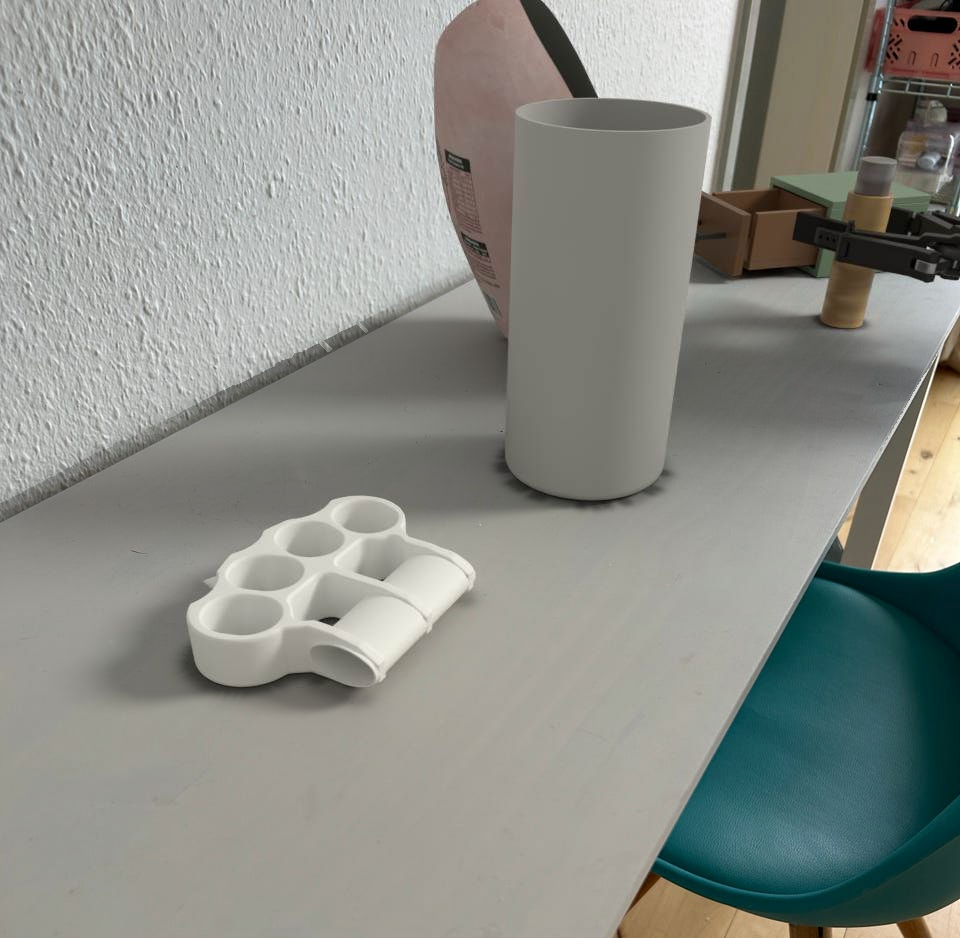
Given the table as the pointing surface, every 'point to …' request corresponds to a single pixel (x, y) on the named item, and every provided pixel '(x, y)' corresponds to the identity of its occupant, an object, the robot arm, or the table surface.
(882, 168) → the salt mill
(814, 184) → the cabinet
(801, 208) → the drawer
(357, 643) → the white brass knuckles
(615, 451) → the cylinder vase
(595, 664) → the table surface
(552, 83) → the packaged food
